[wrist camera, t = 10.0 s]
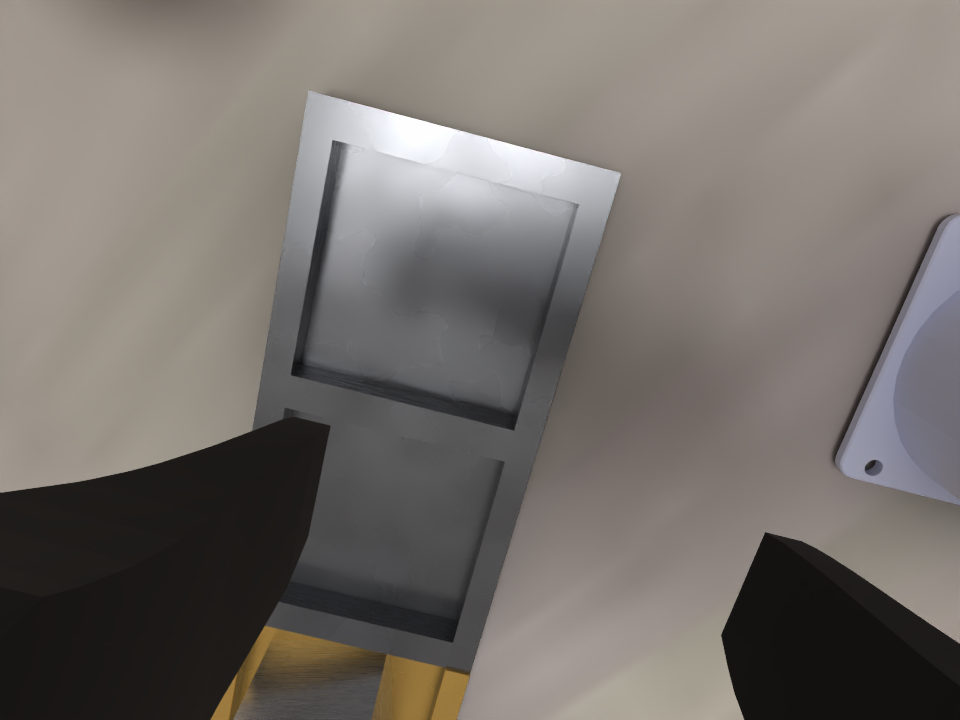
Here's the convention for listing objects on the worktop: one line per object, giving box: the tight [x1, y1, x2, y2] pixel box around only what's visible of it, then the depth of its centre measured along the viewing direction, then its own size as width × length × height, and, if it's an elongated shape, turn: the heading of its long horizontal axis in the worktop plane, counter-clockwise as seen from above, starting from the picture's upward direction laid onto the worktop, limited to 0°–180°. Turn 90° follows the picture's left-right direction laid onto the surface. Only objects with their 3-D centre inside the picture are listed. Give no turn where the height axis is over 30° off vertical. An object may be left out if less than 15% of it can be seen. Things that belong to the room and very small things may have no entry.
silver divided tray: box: [211, 91, 621, 720], centre depth 21 cm, size 8×24×2 cm, turn 166°
